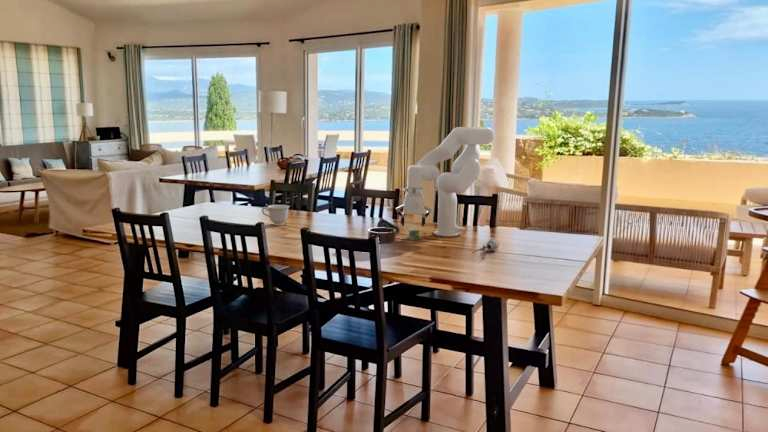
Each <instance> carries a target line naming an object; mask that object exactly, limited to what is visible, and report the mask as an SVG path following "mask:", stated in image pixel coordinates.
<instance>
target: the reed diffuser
mask: <svg viewBox="0 0 768 432" xmlns="http://www.w3.org/2000/svg"><path fill="white" fill-rule="evenodd" d="M499 247H500V244H499V242H498V241H497V240H496V239H489V241H487V243H486V245H485V244H482V248H479V249H477V250H475V251H472V253H476V252H478V251H481V250H485V249H486V251H485V253H484V255H483V257H482V259H485V256H486V255H487V253H488V251H490V252H492V251H493V252H494V251H496V250H498V249H499Z"/></svg>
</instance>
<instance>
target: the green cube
mask: <svg viewBox="0 0 768 432" xmlns="http://www.w3.org/2000/svg"><path fill="white" fill-rule="evenodd" d="M408 239H409V240H412V241H415V240H420V229H419V228H408Z"/></svg>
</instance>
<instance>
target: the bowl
mask: <svg viewBox="0 0 768 432" xmlns="http://www.w3.org/2000/svg"><path fill="white" fill-rule="evenodd" d="M372 235H374V236H378V237H379V241H380V243H379V244H391V243H394V242H395V241H397V240H396V239H397V233H396V230H395V229H392V228H384V227H378V228H377V227H371V228H368V229H367V238H368V237H370V236H372Z"/></svg>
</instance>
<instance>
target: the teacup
mask: <svg viewBox="0 0 768 432" xmlns="http://www.w3.org/2000/svg"><path fill="white" fill-rule="evenodd" d="M289 208H290V205H288V204H269V205H267V206H263V207H262V208H261V213H262V215H264V216H267V217H268V218H269V219H270V222H272V223H273V225H274V226H284V225H285V222H286V221H287V220H288V215H289ZM264 210H266V212H268V213H265V211H264Z"/></svg>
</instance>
